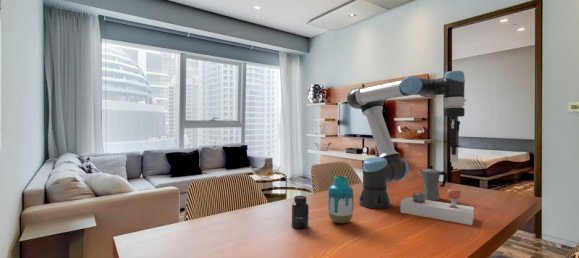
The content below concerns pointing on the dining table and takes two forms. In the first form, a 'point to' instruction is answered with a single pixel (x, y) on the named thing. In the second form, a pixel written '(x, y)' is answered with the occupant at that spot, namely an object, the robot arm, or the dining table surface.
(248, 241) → the dining table surface
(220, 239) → the dining table surface
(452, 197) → the red plunger
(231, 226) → the dining table surface
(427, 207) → the block
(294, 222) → the supplement bottle
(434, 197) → the coffeepot
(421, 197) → the plunger
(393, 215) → the dining table surface
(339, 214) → the vase
